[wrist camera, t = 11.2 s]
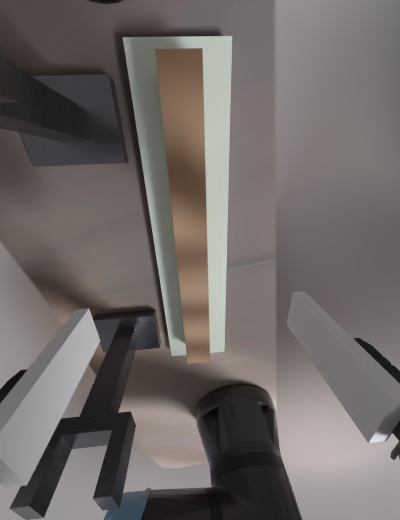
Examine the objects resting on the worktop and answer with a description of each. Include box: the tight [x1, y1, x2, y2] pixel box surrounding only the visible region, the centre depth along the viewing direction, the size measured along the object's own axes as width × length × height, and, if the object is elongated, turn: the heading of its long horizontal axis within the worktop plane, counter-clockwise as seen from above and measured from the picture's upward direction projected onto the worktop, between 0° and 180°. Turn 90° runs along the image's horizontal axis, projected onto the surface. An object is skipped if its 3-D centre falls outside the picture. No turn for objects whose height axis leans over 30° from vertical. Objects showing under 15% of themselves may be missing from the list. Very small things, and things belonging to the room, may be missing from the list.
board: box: [123, 36, 232, 356], centre depth 22 cm, size 34×8×1 cm, turn 2°
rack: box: [0, 48, 161, 520], centre depth 15 cm, size 30×8×16 cm, turn 2°
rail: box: [155, 48, 210, 364], centre depth 20 cm, size 30×3×3 cm, turn 2°
